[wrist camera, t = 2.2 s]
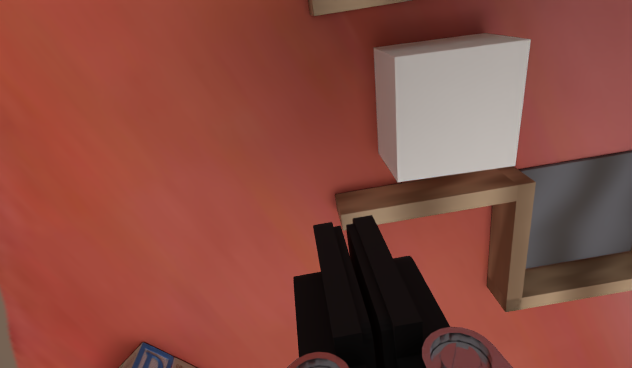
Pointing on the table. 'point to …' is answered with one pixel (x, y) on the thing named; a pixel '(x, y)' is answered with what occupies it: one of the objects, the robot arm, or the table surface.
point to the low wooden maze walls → (523, 217)
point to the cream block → (450, 104)
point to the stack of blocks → (153, 359)
